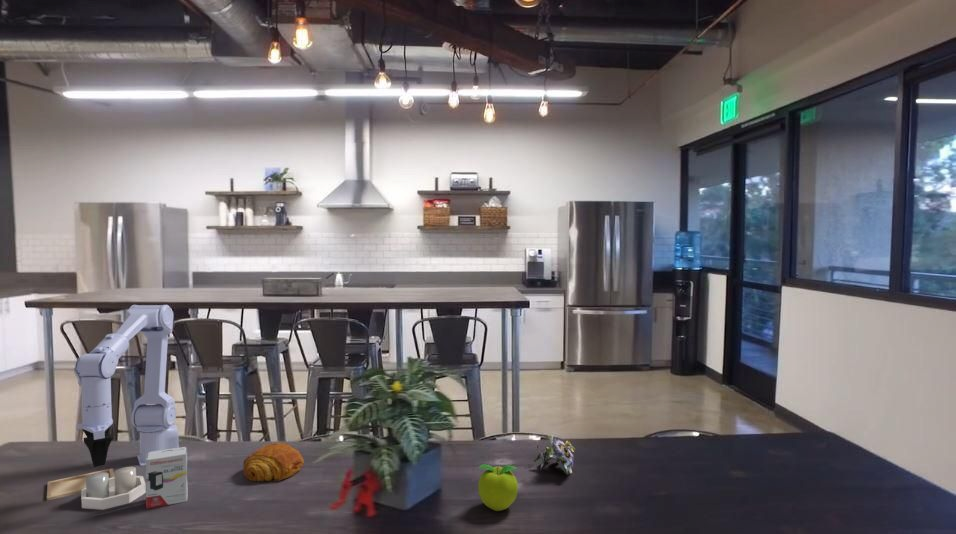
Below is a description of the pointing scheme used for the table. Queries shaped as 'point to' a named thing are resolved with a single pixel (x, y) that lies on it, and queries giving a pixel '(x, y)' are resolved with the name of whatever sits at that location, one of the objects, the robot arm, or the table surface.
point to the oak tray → (70, 485)
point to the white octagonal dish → (113, 496)
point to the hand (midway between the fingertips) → (98, 460)
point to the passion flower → (558, 454)
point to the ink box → (166, 477)
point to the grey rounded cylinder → (125, 480)
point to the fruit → (497, 487)
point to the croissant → (273, 463)
